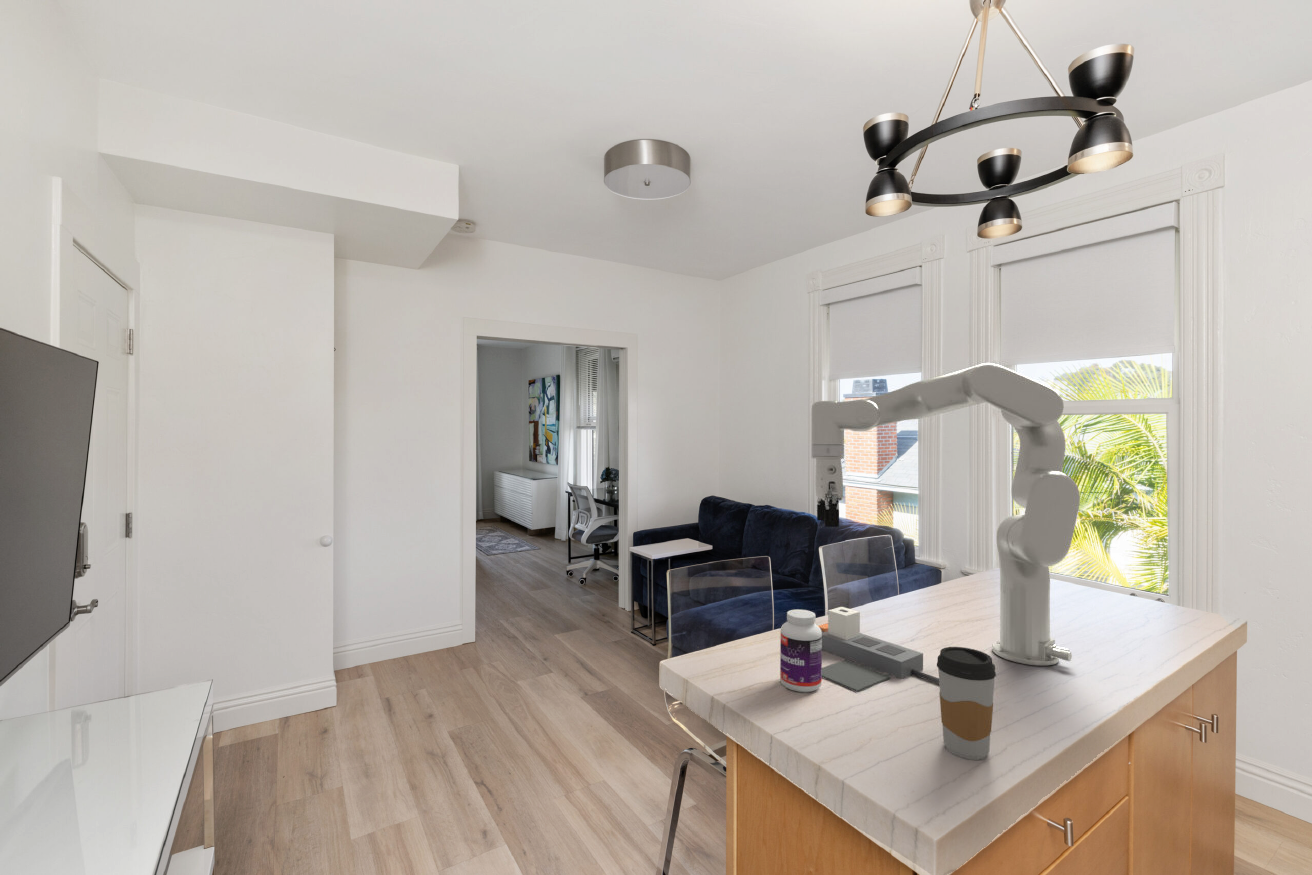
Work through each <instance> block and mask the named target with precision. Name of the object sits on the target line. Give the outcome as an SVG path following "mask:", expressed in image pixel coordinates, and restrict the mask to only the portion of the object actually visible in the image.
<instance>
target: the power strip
mask: <svg viewBox="0 0 1312 875" xmlns="http://www.w3.org/2000/svg"><path fill="white" fill-rule="evenodd" d="M817 626H818V627H819V628H820V629H821V632H822V650H823V651H826V652H828V653H831V654H833V655H836V656H838V657H842V658H844V659H846V660H848V661H851V662H854V663H856V664H859V665H862V666H864V667H867V668H870V669H872V670H875V671H878V672H880V673H883V674H886V675H888V676H893V677H896V678H898V679H901V680H902V679H905V678H907V677H909V676H912V675H914V676H917V677H920V678H921V679H924V680H928V681H930V682H933V683H935V684H939V677H936V676H933V675H930V674H928V673H925V672H923V670H924V653H923V652H921V651H917V650H914V649H911V648H907V647H905V646H901V645H898V644H895V643H893V642H890V641H887V640H883V639H880V638H877V637H873V636H870V635H868V634H864V633H862V632H860V636H857V637H854V638H851V639H848V640H845V639H842V638H839V637H836V636H833V635H830V634H828V622H827V623H823V624H819V625H817Z"/></svg>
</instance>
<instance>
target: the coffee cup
mask: <svg viewBox="0 0 1312 875" xmlns="http://www.w3.org/2000/svg"><path fill="white" fill-rule="evenodd" d="M995 665H996V664H994V663H993V658H992V657H991V656H990V655H989V654H987V653H985V652H983V651H980V650H978V649H974V648H970V647H963V646H948V647H944V648H941V650H940V652H939V655H938V656H937V662H936V667H937V668H938V678H939V685H938V686H939V705H940V718H941V720H940V721H941V724H942V725H941V726H942V736H943V739H942V740H943V743H944V746H945V748H946V749H947V751H949V752H950V753H952V754H953V755H955V756H957V757H960V758H963V759H966V760H975V761H976V760H978V761H979V760H983V759H985V758H986V757H987V755H988V754H989V753H990V744H991V733H992V725H993V724H992V723H993V714H994V712H993V711H994V690H995V679H996V677H997V673H996V666H995Z"/></svg>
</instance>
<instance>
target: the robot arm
mask: <svg viewBox="0 0 1312 875" xmlns="http://www.w3.org/2000/svg"><path fill="white" fill-rule="evenodd" d="M983 403H987V404H989V405H991V406H992V407H995V408H997V409H998V410H1000V413H1001V415H1002V418H1003V419H1004V420H1005V421H1006V422H1007V423H1008V424H1009V425H1011V426H1012V427H1013V429H1014V430H1015V431H1016V433H1017V436H1018V438H1019V451H1018V457H1017V462H1016V466H1015V472H1014V475H1013V479H1012V485H1011V498H1012V499H1013V501H1014V502H1015V503H1016V504H1017V505H1018V506H1020V507H1021V508H1024V509H1025V510H1024V514H1014V515H1011V516H1007V517H1006V518H1005V519H1004V520H1003V521H1002V522H1001V523H1000V524H999V526H998V528H997V531H996V546H997V553H998V560H999V641H996V642H994V643H993V644H992V647H991V650H992V651H993V653H994V654H996V655H997V656H998V657H1001V658H1003V659H1005V660H1008V661H1010V662H1015V663H1017V664H1018V663H1019V664H1024V665H1030V666H1037V667H1039V666H1040V667H1042V666H1043V667H1044V666H1053V665H1056V664H1058V663H1059V659H1060V660H1063V661H1066V662H1071V661H1072V656H1073V654H1072V652H1071V651H1070V649H1068V648H1065V647H1059V646H1058V645H1057V644H1056V639H1055V638H1052V637H1051V578H1050V576H1051V574H1050V568H1049V567H1053V566H1056V565H1057V564H1059V563H1061V562H1062V561H1063V560H1064V559H1065V558H1066V556H1067V554H1068V553H1069V551H1070V548H1071V545H1072V541H1073V537H1074V531H1075V527H1076V523H1077V517H1078V514H1079V509H1080V503H1081V502H1080V500H1081V497H1080V490H1079V488H1078V485H1077V483H1076V482H1075V481H1074V480H1073V478H1071V477H1070V476H1069V475H1067V474H1066V473H1064V472H1063V468H1064V467H1063V466H1064V460H1065V454H1066V438H1065V433H1064V430H1063V429H1062V426H1061V424H1060V422H1059V421H1058V420H1059V419H1060V418H1061V416H1062V414H1063V413H1064V400H1063V398H1062V397H1061V395H1060V393H1058V392H1057V391H1056V390H1055V389H1054V388H1052V387H1050V386H1048V385H1046V384H1043V383H1041V382H1039V381H1037V380H1035V379H1032V378H1030V377H1028V376H1025V375H1023V374H1021V373H1019V372H1017V371H1014V370H1012V369H1009V368H1007V367H1005V366H1003V365H1000V364H995V363H991V362H986V363H981V364H977V365H975V366H971V367H968V368H964V369H961V370H960V369H959V370H957V371H954V372H950V373H946V374H944V375H942V374H941V375H938V376H935V377H932V378H927V379H923V380H920V381H916V382H913V383H910V384H908V385H905V386H903V387H901V388H899V389H898V388H897V389H895V390H892V391H890V392H886V393H881V394H879V395H876V396H872V397H868V398H864V399H863V398H862V399H861V398H860V399H853V400H847V401H838V400H818V401H815V402H814V403H813V404H812V406H811V459H815V495H816V497H817V505H816V520H817V521H820V522H821V521H823V522H824V527H825V528H838V527H839V526H840V507H839V506H840V505H839V501H842V500H844V482H843V480H844V479H843V465H842V464H843V463H842V460H843V459H845V430H849V431H853V432H866V431H870V430H872V429H874V428H878V427H881V426H885V425H888V424H893V423H897V422H902V421H909V420H919V419H920V420H921V419H925V418H928V417H929V418H930V417H933V416H936V415H940V414H944V413H948V412H953V411H956V410H959V409H964V408H967V407H971V406H974V405H975V406H976V405H980V404H983Z"/></svg>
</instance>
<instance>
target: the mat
mask: <svg viewBox="0 0 1312 875" xmlns="http://www.w3.org/2000/svg"><path fill="white" fill-rule="evenodd" d="M891 676H892V675H889V674H887V673H884V672H881V671H879V670H876V669H873V668H871V667H868V666H865V665H863V664H860V663H857V662H854V661H852V660H849V659H846V658H844V659H843V660H840V661H837V662H835V663H832V664H829V665H827V666H823V667H822V679H825V680H827V681H830V682H833V683H835V684H837V685H840V686H842V687H844V688H847V689H849V690H851V691H853V692H856V693H859V692H862V691H864V690H867V689H869V688H871V687H873V686H876V685H879V684H880V683H883V682H885V681H888V680H889V679H891Z"/></svg>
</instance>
